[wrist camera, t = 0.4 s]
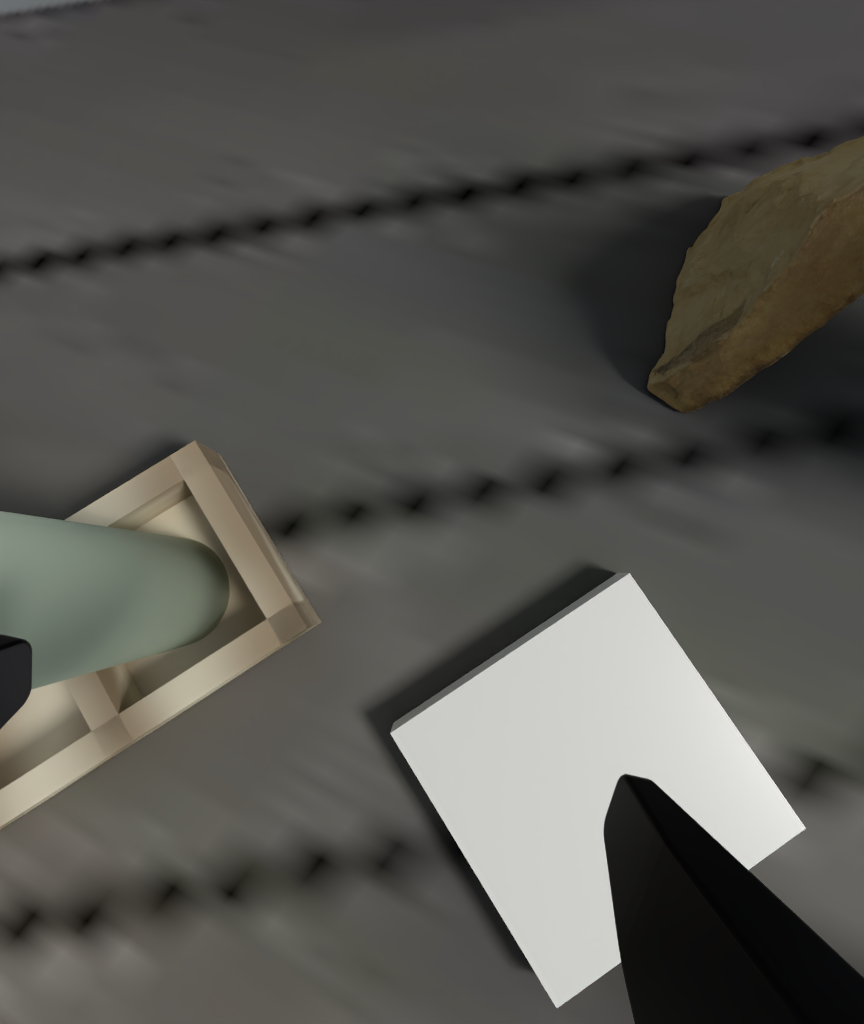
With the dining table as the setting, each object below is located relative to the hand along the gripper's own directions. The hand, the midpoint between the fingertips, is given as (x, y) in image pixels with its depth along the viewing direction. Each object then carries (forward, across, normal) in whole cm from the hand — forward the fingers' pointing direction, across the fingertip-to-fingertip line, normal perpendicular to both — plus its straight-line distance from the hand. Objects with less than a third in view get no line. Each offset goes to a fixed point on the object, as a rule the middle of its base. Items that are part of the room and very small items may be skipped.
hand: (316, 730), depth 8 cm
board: (+13, -9, +9) cm, 18 cm away
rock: (+21, -11, -11) cm, 26 cm away
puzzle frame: (+13, +13, +9) cm, 20 cm away
